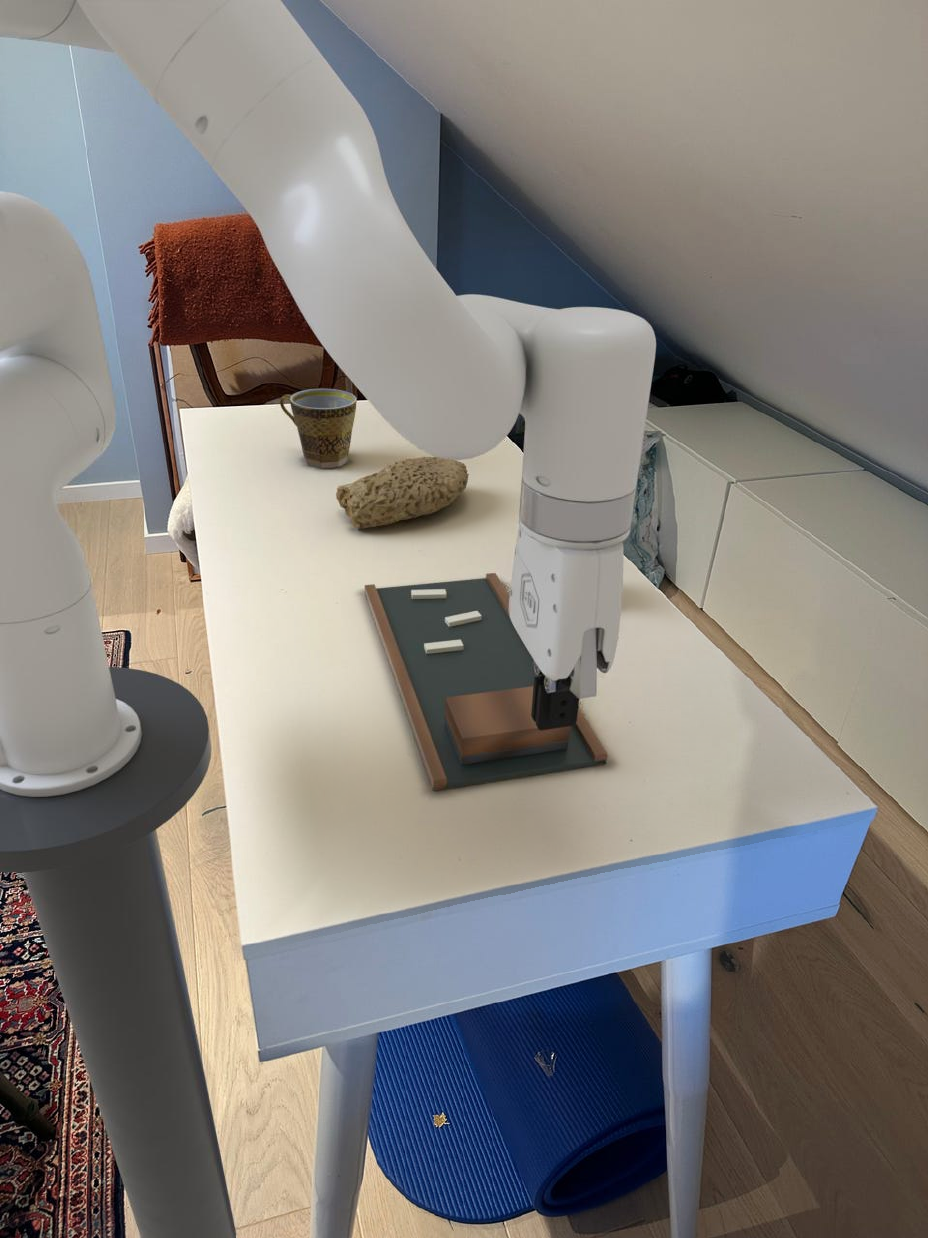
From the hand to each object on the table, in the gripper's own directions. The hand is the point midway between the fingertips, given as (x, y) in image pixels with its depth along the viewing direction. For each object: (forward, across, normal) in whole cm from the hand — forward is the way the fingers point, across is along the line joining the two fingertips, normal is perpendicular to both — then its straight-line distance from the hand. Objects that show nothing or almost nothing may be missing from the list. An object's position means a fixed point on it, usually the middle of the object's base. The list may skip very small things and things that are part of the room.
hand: (553, 721), depth 67 cm
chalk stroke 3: (+9, -29, +1) cm, 30 cm away
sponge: (+9, -60, +2) cm, 61 cm away
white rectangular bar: (+8, -35, -2) cm, 36 cm away
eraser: (+9, -9, 0) cm, 13 cm away
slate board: (+9, -21, 0) cm, 23 cm away
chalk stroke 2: (+9, -24, -2) cm, 26 cm away
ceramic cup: (+9, -81, -8) cm, 82 cm away
